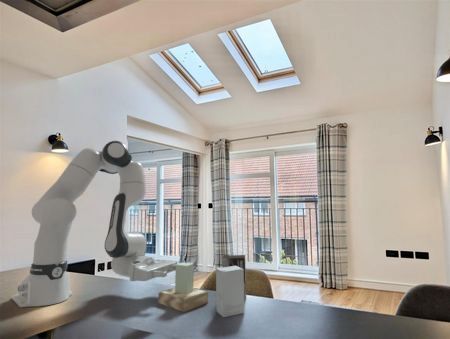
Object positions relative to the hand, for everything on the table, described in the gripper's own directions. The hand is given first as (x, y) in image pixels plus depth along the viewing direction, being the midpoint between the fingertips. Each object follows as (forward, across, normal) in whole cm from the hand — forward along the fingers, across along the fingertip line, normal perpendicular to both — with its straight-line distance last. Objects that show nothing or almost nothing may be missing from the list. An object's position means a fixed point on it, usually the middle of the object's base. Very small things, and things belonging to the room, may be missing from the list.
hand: (173, 271), depth 113 cm
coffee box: (+20, -13, -11) cm, 26 cm away
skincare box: (+25, +2, -11) cm, 27 cm away
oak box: (+5, 0, -11) cm, 12 cm away
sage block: (+5, 0, -6) cm, 8 cm away
